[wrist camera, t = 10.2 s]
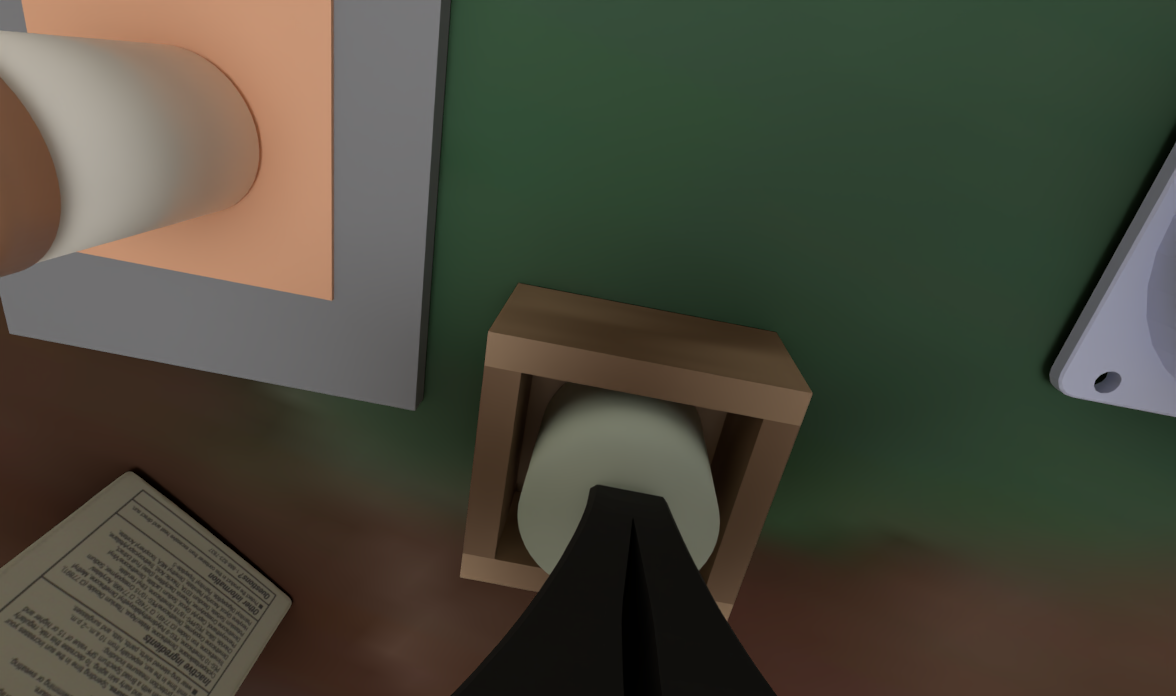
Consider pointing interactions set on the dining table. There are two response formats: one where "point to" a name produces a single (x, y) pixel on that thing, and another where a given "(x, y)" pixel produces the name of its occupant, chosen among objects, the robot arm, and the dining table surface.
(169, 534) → the skincare box
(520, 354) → the button housing
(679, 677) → the robot arm
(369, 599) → the dining table surface
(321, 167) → the grey square plate
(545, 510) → the button
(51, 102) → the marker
